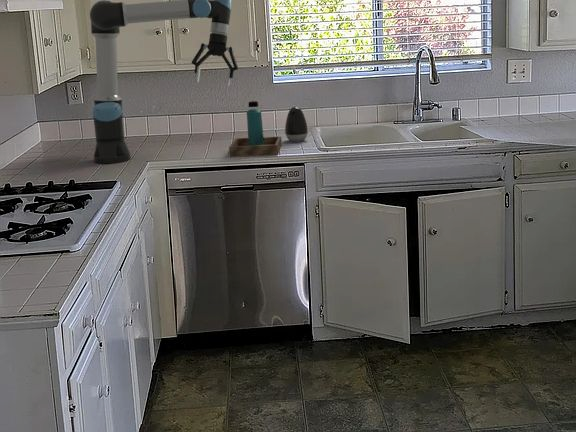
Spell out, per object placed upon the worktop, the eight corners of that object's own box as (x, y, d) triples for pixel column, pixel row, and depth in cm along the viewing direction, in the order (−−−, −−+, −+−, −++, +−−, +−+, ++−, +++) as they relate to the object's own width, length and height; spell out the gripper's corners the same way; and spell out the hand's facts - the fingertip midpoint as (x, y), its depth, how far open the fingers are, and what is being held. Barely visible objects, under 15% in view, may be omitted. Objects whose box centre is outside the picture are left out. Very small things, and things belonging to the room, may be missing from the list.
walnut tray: (229, 156, 356) (229, 147, 355) (235, 147, 376) (235, 138, 374) (278, 154, 355) (277, 145, 354) (281, 145, 374) (281, 136, 373)
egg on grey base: (282, 143, 380) (280, 108, 376) (289, 138, 389) (287, 105, 385) (304, 143, 377) (303, 108, 373) (311, 138, 386) (309, 104, 382)
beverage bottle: (262, 149, 361) (259, 102, 356) (247, 150, 362) (243, 102, 357) (265, 146, 367) (262, 99, 362) (250, 147, 369) (247, 100, 363)
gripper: (248, 38, 371) (242, 88, 373) (193, 31, 375) (186, 80, 377) (245, 36, 364) (238, 86, 366) (188, 29, 367) (182, 79, 369)
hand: (212, 83), depth 371 cm, fingers open, 13 cm apart
